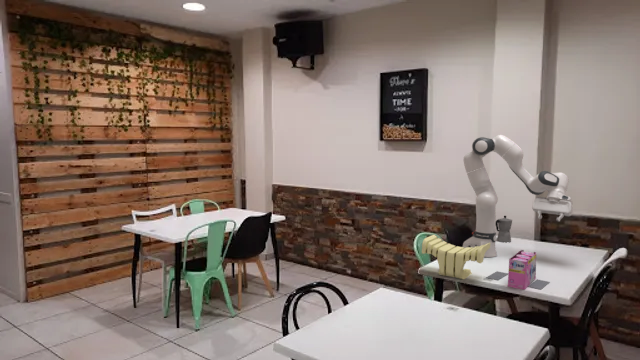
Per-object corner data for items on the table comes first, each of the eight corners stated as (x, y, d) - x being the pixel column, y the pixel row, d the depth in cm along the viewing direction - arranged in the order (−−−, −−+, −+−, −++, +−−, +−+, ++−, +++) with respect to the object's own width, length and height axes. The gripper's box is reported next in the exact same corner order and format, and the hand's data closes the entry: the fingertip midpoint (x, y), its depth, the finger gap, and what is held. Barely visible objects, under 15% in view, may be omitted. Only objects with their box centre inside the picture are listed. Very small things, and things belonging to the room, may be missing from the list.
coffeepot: (505, 238, 317) (506, 214, 315) (516, 241, 309) (517, 216, 307) (489, 240, 310) (490, 215, 309) (500, 243, 302) (501, 217, 300)
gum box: (520, 274, 232) (521, 249, 231) (536, 277, 227) (538, 251, 226) (507, 286, 213) (508, 258, 212) (524, 290, 208) (526, 261, 207)
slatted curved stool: (421, 273, 233) (422, 239, 232) (432, 266, 246) (433, 234, 244) (479, 284, 216) (481, 248, 214) (488, 276, 228) (490, 242, 227)
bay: (485, 277, 226) (485, 277, 226) (496, 271, 237) (496, 271, 237) (540, 289, 209) (540, 289, 209) (550, 282, 220) (550, 281, 220)
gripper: (534, 193, 258) (527, 214, 253) (573, 197, 244) (567, 219, 239) (537, 199, 262) (530, 219, 257) (575, 203, 248) (569, 225, 243)
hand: (548, 219), depth 248 cm, fingers open, 8 cm apart
